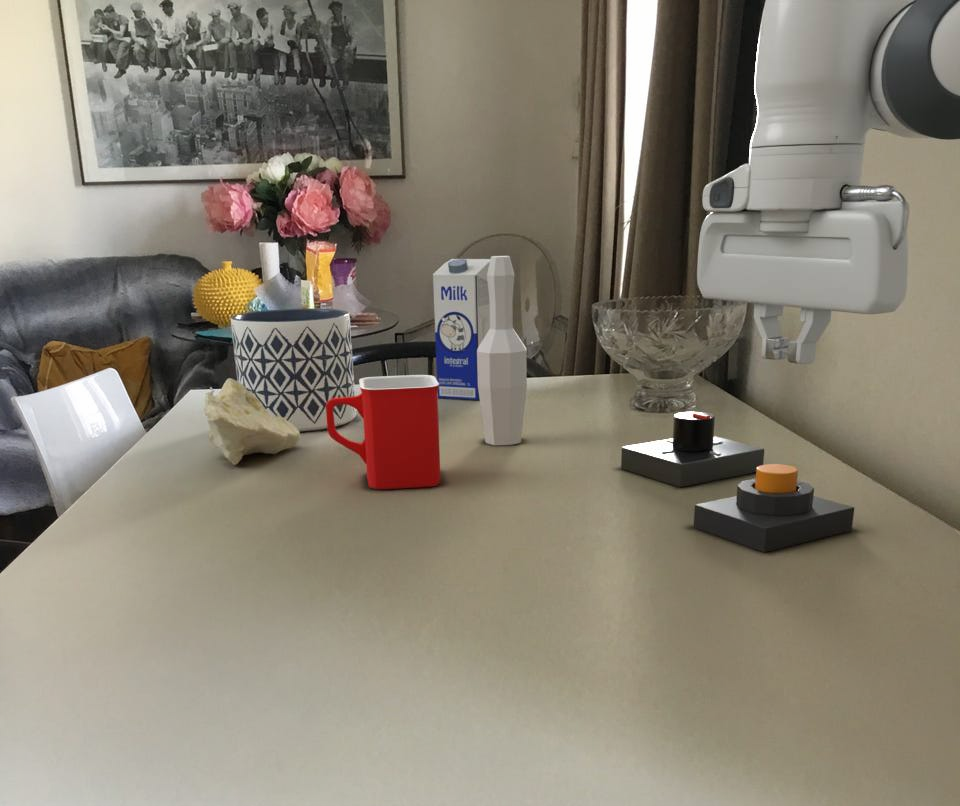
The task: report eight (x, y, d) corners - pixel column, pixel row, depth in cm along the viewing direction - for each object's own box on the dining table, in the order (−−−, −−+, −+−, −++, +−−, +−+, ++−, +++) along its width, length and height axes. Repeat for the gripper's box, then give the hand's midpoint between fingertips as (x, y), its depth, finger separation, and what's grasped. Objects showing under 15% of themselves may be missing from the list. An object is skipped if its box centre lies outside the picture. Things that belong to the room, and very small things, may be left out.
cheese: (258, 455, 137) (161, 393, 128) (294, 414, 135) (198, 347, 126) (282, 519, 127) (178, 456, 117) (322, 475, 125) (219, 408, 115)
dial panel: (701, 454, 124) (702, 431, 123) (763, 470, 116) (765, 447, 115) (620, 468, 119) (621, 445, 118) (680, 487, 111) (681, 462, 110)
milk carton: (496, 392, 165) (493, 257, 157) (478, 400, 160) (475, 260, 152) (455, 390, 168) (451, 257, 160) (436, 397, 162) (431, 260, 154)
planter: (364, 428, 142) (357, 317, 137) (244, 436, 139) (232, 323, 133) (348, 407, 156) (341, 306, 151) (239, 414, 153) (228, 311, 147)
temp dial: (664, 446, 117) (665, 412, 116) (694, 441, 119) (696, 407, 118) (690, 453, 114) (692, 418, 112) (721, 448, 116) (723, 413, 114)
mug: (436, 468, 121) (433, 374, 116) (444, 487, 113) (440, 386, 109) (331, 474, 119) (324, 378, 115) (331, 493, 112) (323, 391, 107)
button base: (778, 508, 103) (782, 468, 101) (852, 530, 96) (857, 487, 94) (693, 527, 98) (695, 485, 96) (764, 552, 91) (768, 507, 89)
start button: (774, 483, 98) (776, 461, 97) (804, 491, 95) (806, 469, 94) (746, 489, 96) (748, 467, 95) (775, 498, 93) (777, 475, 92)
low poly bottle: (518, 434, 137) (516, 254, 128) (535, 444, 131) (535, 256, 123) (471, 438, 135) (466, 256, 126) (487, 448, 129) (483, 258, 121)
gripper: (938, 183, 79) (913, 372, 84) (742, 187, 95) (731, 345, 100) (882, 184, 76) (859, 380, 81) (689, 189, 92) (680, 351, 97)
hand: (787, 361), depth 91 cm, fingers closed
